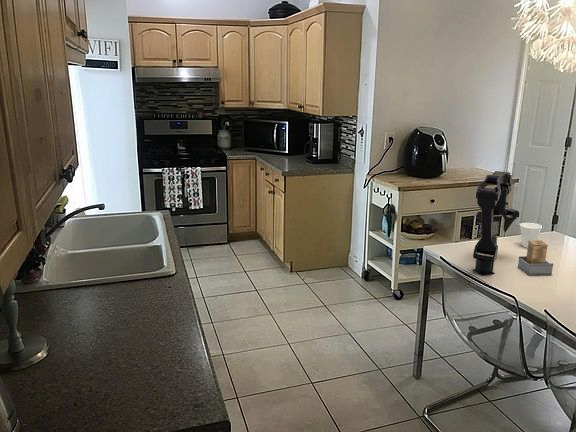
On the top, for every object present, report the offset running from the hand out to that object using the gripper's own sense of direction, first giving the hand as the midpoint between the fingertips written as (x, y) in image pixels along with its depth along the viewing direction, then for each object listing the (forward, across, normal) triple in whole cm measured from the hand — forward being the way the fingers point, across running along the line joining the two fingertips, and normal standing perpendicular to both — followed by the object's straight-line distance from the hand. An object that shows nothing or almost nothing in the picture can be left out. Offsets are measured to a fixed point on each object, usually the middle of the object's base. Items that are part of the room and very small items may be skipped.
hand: (495, 232), depth 218 cm
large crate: (+13, -8, +17) cm, 23 cm away
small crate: (+12, -8, +17) cm, 22 cm away
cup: (+13, -28, -10) cm, 33 cm away
